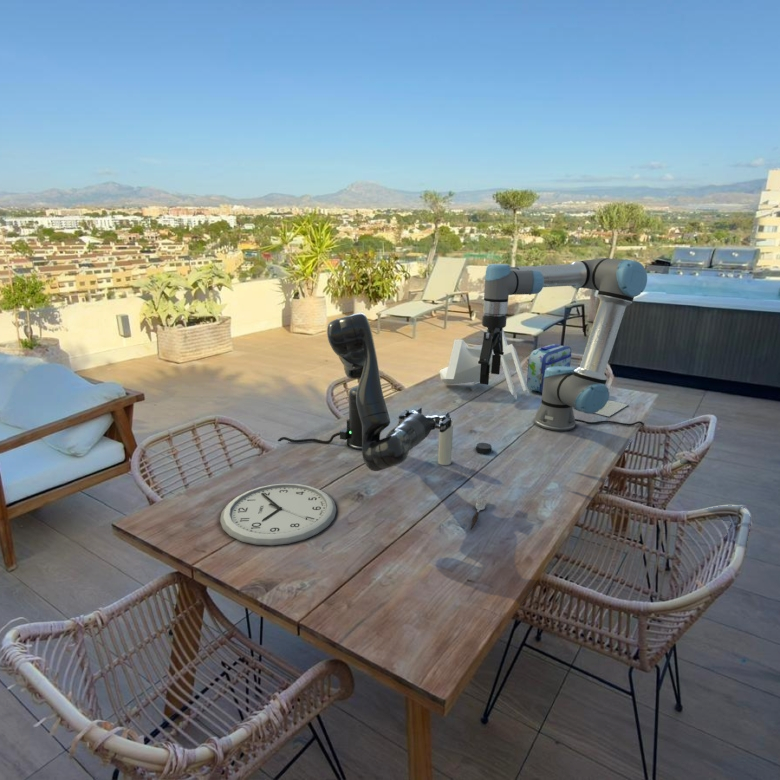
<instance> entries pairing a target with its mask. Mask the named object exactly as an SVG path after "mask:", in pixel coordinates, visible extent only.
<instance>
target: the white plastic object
mask: <svg viewBox="0 0 780 780" xmlns="http://www.w3.org/2000/svg"><path fill="white" fill-rule="evenodd" d="M502 339H503V352H504V354H503V355H501V361H500V366H502V370H503V373H504V376H505V380H506V383H507V386H508V390H509V393H510V394H511V395H512V397H513V398H514V399H515V400H517V392H516V391H517V390H516V388H515V385H514V381H513V378H512V375H511V371H510V369H509V365H508V361H510V360H513V363H514V366H515V369H516V372H517V376H518V380H519V382H520V385H521V389H522V391H523V393H524V395H525V396H526V397H528V396H531V395H530V390H529V389H528V387H527V380H526V378H525V375H524V371H523V369H522V368H523V367H522V366H521V362H520V359H519V355H518V352H517V349H516V347H515V346H514V345H513V343H511V344H508V341H507V337H506V334H505V331H504V328H503V329H502ZM481 349H482V344H479V345H473V346H469V345H468V343H466V342H465V340H464V339H463V338H460V339H458V338H454V340H453V344H452V349H451V353H450V357H449V362H448V366H446V367H444V368H442V369H440V370H439V371H438V372H439V376H440V381H442V383H443V384H444V385H445V386H449V385H458V384H467V383H468V384H469V383H473V384H477V383H480V370H481V364H478V361H479V359H480V354H481ZM492 355H495V354H494V353H493V350H492V354H491V358H490V362H489V364H490V371H489V374H491V368H492Z"/></svg>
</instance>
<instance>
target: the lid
mask: <svg viewBox="0 0 780 780" xmlns="http://www.w3.org/2000/svg"><path fill="white" fill-rule="evenodd" d="M492 450H493V448H492V445H491V443H488V442H478V443H477V444H476V446H475V451H476V452H477V453H478V454H481V455H489V454H491V453H492Z"/></svg>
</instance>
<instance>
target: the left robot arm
mask: <svg viewBox="0 0 780 780" xmlns="http://www.w3.org/2000/svg"><path fill="white" fill-rule="evenodd" d="M326 337H327V341H328V343H329V346H330V348H331V350H332V351H333V352H334V353H335V354H336V356H338V359H339V360H340V362H341V364H342V365H343V371H344V374H345V376H346V377H347V378H348V379H351V380H359V382H358V385H357V386H353V387H352V388H350V389H349V391H348V418H347V419H346V427H344V428H343V429H341V430H340V431H339V432H336V433H333V434H332V435H331V437H330V438H329V439H327V440H323V439H322V440H321V439H318V438H303V439H292V438H290V437H288V436H281V437H280V438H279V439H277V442H281V441H288V442H291V443H306V442H307V443H308V442H317V443H320V444H330V443H332V442H333V440H334V438H336V437H337V436H339V439H340V440H343V441H346V445H347V446H349V447H350V448H351V449H355V450H361V455H362V459H363V462H364V464H365V466H366V467H367V468H368V469H369V470H371V471H373V472H380V471H383V470H387V469H389V468H392V467H395V466H398V465H400V464H402V463H404V461H406V459H407V458H408V456H409V452H410V451H411V450H412V449H413V448H415V447H416V446H418V445H419V444H421V442H423V441H424V440H425V439H426V438H427V437H429V435H430V433H431V431H433V430H435V429H436V430H439V429H440V432H444V431H446V430H447V429H448V428H450V427H451V418H452V417H451V414H450V413H449V412H448V411H446V412H444V413H443V414H442V415H437V414H436V415H424V414H422V411H423V408H422V407H419V406H418V407H417V408H416V409H413V410H412V409H411V410H409V409H404V410H403V412H401V413H400V414H398V424H397V425H396V426H395V427H394V428H392V429H391V430H390V431H389V432H388V433H387V434H386V436H385V437H383V438H381V433H382V432H383V431H384V430H385V429H386V428H388V427H389V426H390V424H391V418H390V414H389V410H388V407H387V403H386V399H385V397H384V392H383V389H382V382H381V376H380V375H381V374H380V369H379V362H378V356H377V351H376V345H375V340H374V334H373V332H372V327H371V324H370V322H369V319H368V317H367V315H366V314H364V313H362V312H358V313H353V314H351V315H347V316H343V317H339V318H336V319H333V320H331V321H330V322H329V323H328V324H327V328H326ZM441 419H442V421H441Z"/></svg>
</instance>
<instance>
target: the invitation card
mask: <svg viewBox="0 0 780 780" xmlns="http://www.w3.org/2000/svg"><path fill="white" fill-rule="evenodd" d="M628 406H629V404H627V403H623V402H618V401H614V400H609V399H608V401H607V403H606V405H605V406H604V407H603V408H602V409H601V410H599V411H598V412H596V413H595V414H596V415H600V416H604V417H608V418H609V417H611V416H613V415H614V414H616V413H617V412H619V411H621V410H623V409H624V408H626V407H628Z"/></svg>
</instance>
